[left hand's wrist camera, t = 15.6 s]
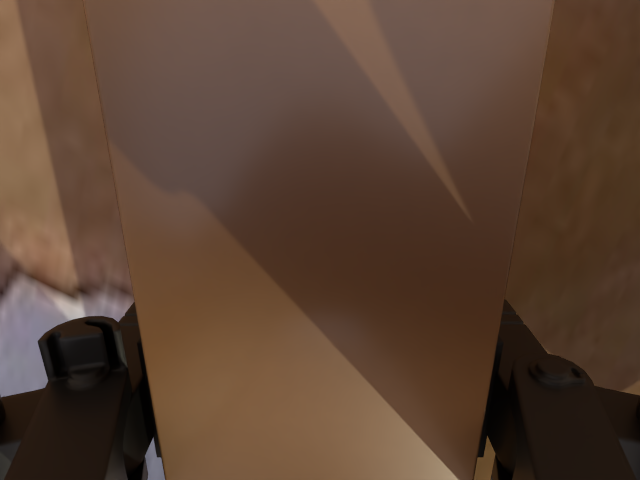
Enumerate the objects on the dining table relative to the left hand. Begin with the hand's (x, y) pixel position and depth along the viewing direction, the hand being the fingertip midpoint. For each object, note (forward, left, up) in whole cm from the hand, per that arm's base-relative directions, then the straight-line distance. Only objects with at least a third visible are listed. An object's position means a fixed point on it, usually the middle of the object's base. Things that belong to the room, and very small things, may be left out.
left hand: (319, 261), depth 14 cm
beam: (+14, +10, -1) cm, 18 cm away
